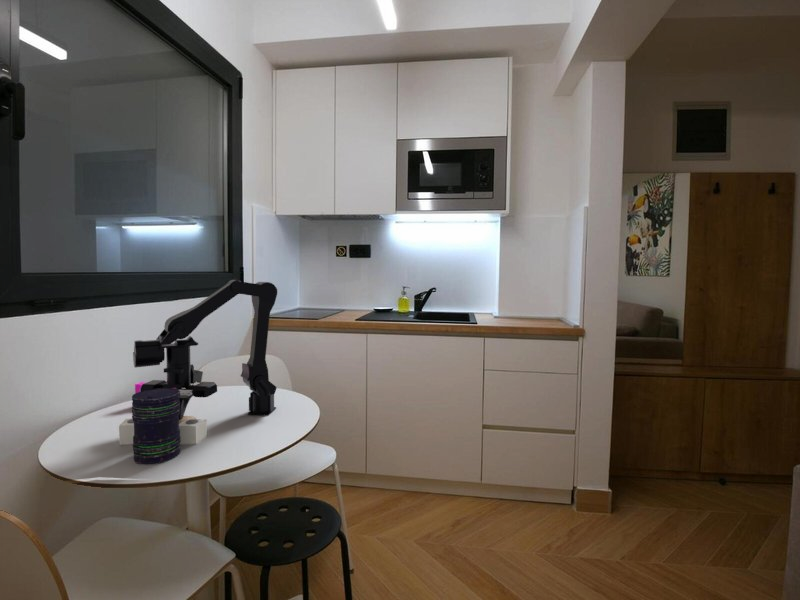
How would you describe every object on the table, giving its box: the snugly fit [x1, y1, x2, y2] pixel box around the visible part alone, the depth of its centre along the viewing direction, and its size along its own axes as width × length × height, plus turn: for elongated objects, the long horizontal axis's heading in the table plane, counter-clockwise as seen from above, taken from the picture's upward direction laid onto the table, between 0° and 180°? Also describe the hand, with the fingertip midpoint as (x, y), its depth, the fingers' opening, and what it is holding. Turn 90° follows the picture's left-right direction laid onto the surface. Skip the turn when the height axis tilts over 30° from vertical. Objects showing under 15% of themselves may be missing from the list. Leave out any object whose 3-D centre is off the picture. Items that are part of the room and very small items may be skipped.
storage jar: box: [131, 388, 181, 466], centre depth 100 cm, size 10×10×15 cm
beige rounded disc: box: [179, 415, 197, 424], centre depth 116 cm, size 8×8×3 cm
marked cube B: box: [118, 417, 134, 446], centre depth 109 cm, size 5×5×5 cm
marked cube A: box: [179, 418, 208, 445], centre depth 109 cm, size 5×5×5 cm
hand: (179, 419), depth 116 cm, fingers closed
